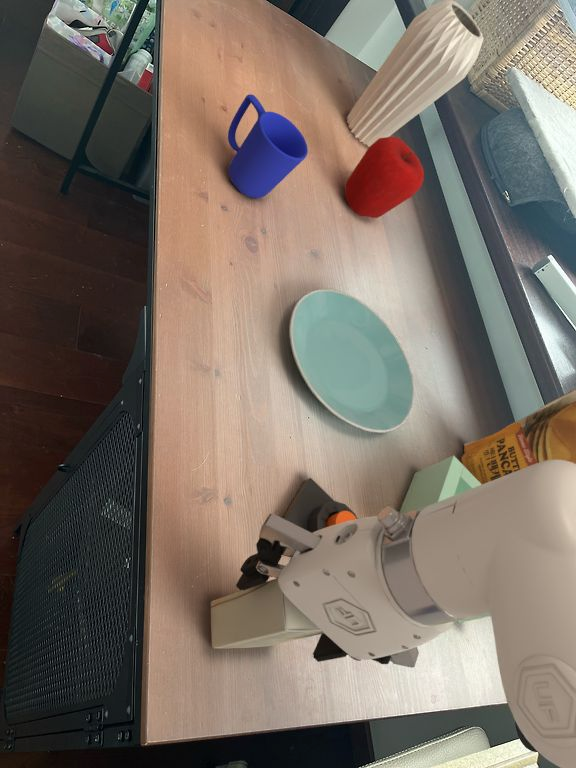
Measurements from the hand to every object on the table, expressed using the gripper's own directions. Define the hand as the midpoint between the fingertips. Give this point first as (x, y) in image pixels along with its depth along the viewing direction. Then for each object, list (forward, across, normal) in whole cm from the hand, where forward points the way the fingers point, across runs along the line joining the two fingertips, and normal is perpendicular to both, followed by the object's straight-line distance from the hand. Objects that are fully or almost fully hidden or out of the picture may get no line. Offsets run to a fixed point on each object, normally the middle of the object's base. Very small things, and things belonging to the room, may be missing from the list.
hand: (283, 609), depth 54 cm
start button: (+5, +4, +15) cm, 16 cm away
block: (+8, +4, +15) cm, 17 cm away
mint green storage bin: (+8, +19, +27) cm, 34 cm away
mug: (+8, -35, +53) cm, 64 cm away
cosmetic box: (+8, 0, 0) cm, 8 cm away
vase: (+8, -28, +94) cm, 98 cm away
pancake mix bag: (+8, +24, +41) cm, 48 cm away
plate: (+8, -5, +39) cm, 40 cm away
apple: (+8, -19, +73) cm, 76 cm away
